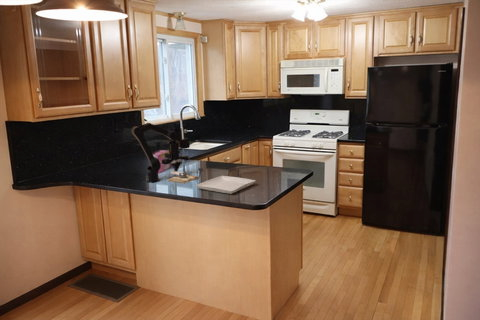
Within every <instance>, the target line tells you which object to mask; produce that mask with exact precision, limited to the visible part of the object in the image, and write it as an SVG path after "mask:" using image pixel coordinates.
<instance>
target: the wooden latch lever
mask: <svg viewBox="0 0 480 320" xmlns="http://www.w3.org/2000/svg"><path fill="white" fill-rule="evenodd" d="M170 174H171V175H176V176H179V178H187V175H188V173H187V171H186V172H185V171H177V172H175V170H170Z"/></svg>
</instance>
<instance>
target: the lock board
mask: <svg viewBox="0 0 480 320" xmlns="http://www.w3.org/2000/svg"><path fill="white" fill-rule="evenodd" d="M198 179H199V176H197V175H191V174H187V178H179V175H176V176H173V177H170V178H168V179H167V181H168V182H170V183H171V182H172V183H177V184H186V183H189V182H190V183H191V182H192V181H194V180H198Z"/></svg>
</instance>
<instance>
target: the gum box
mask: <svg viewBox="0 0 480 320" xmlns="http://www.w3.org/2000/svg"><path fill="white" fill-rule="evenodd" d="M165 153H168V154H170V149H167V150H164V149H163V150H162V149H159V150H157V151H155V152H152V154H153V156H154V157H156V158H158V159H159V162H160V163H161V164H160V165H161V167H160V169H159V171H158V174H160V173H162V172H164V171H165V170H167V169H169V168H170V167H171V164H162V159H167V158H165V156H164V154H165Z"/></svg>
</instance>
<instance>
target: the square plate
mask: <svg viewBox="0 0 480 320" xmlns="http://www.w3.org/2000/svg"><path fill="white" fill-rule="evenodd" d="M254 183H256V179H251V178H243V177H239V176H238V177H236V176H227V175H220V176H216V177H214V178H210V179H207V180H205V181H203V182H201V183H198V184H196V185H195V186H196V187H197V188H199V189H201V190H205V191H209V192H217V193H222V194H229V195H231V194H234V193H237V192H238V191H240V190H243V189H246V188H248V187H249V186H252V185H254Z"/></svg>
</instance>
